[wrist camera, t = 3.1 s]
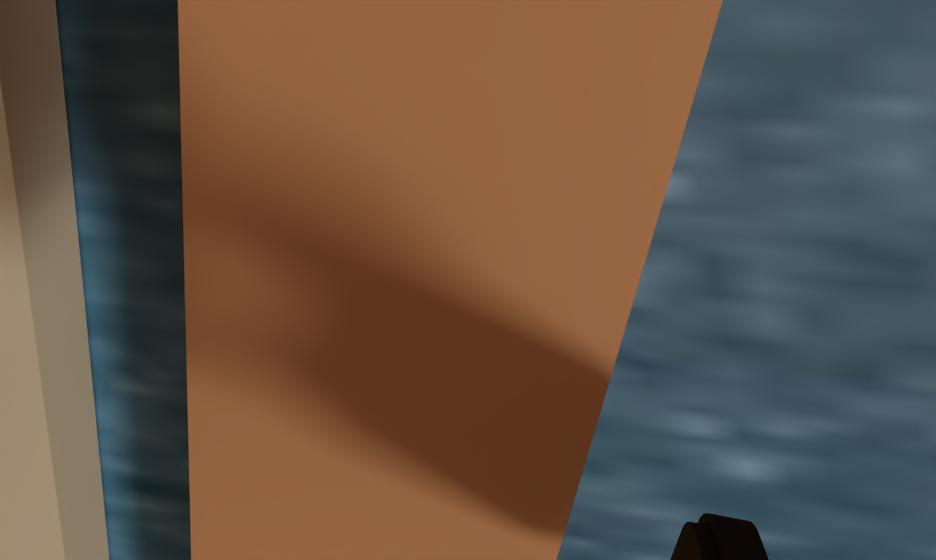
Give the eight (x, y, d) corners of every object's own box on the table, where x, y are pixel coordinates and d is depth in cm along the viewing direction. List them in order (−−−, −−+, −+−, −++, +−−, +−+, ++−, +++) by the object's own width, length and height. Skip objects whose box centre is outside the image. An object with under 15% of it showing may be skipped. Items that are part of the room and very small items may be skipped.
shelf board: (313, -388, 10) (163, -586, 6) (750, -318, 9) (865, -482, 6) (267, 607, 18) (196, 766, 15) (493, 657, 18) (475, 832, 15)
